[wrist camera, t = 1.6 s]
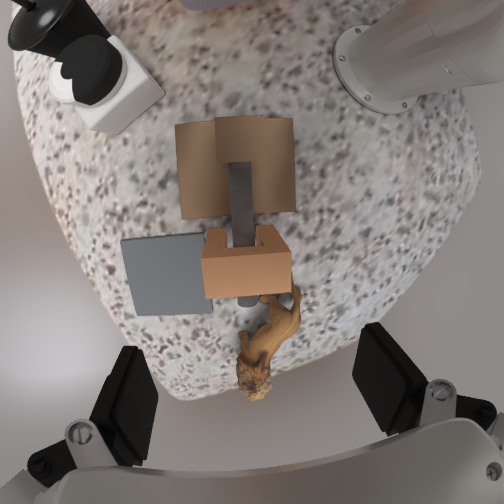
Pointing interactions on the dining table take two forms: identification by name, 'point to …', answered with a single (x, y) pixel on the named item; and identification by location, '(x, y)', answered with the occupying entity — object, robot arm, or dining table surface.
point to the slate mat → (166, 274)
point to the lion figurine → (266, 345)
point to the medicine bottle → (103, 83)
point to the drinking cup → (52, 25)
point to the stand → (236, 172)
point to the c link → (246, 265)
